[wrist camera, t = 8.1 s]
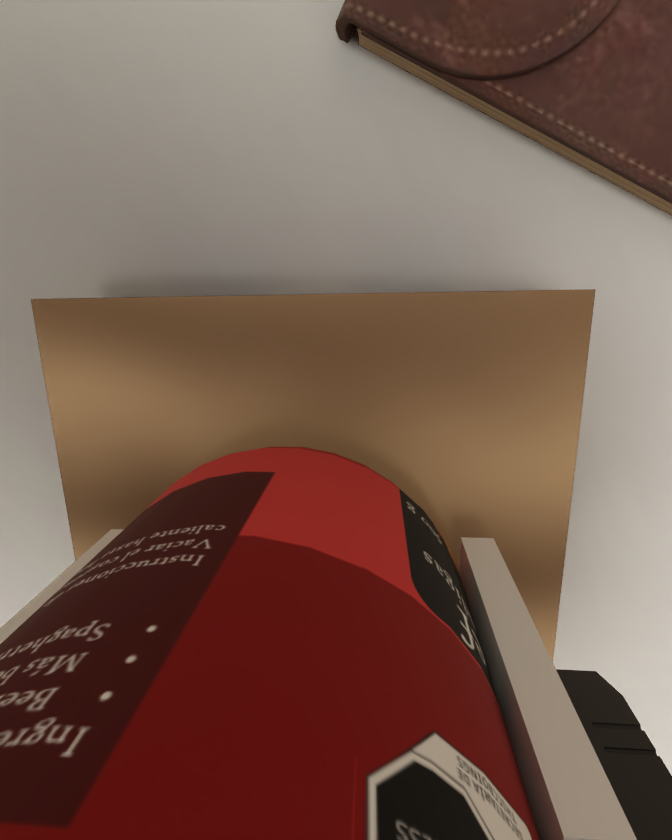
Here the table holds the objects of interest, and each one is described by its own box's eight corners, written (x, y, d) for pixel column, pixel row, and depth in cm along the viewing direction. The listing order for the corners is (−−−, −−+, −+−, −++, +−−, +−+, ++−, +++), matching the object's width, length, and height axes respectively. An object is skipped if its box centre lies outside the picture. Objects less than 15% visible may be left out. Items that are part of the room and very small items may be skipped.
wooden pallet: (96, 298, 15) (30, 299, 12) (550, 290, 14) (595, 289, 11) (146, 666, 19) (105, 734, 16) (514, 684, 18) (541, 761, 15)
